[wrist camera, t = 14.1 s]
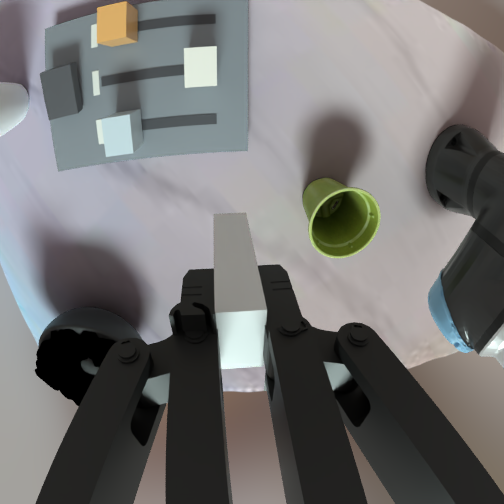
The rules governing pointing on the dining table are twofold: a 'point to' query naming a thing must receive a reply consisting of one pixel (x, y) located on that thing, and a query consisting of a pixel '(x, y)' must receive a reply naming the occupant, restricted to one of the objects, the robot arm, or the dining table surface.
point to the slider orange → (117, 24)
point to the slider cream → (200, 66)
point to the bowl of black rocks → (78, 348)
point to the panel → (155, 82)
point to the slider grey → (122, 132)
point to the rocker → (61, 91)
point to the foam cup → (12, 105)
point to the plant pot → (340, 217)
